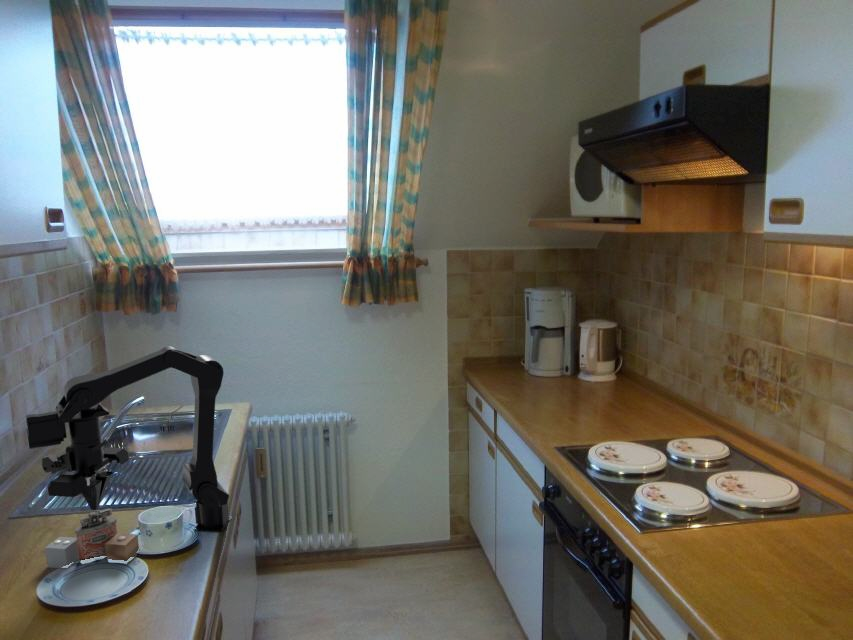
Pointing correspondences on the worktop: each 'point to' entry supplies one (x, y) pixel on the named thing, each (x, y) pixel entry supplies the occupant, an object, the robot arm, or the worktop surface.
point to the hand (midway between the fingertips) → (94, 509)
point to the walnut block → (122, 546)
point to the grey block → (62, 552)
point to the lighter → (95, 534)
